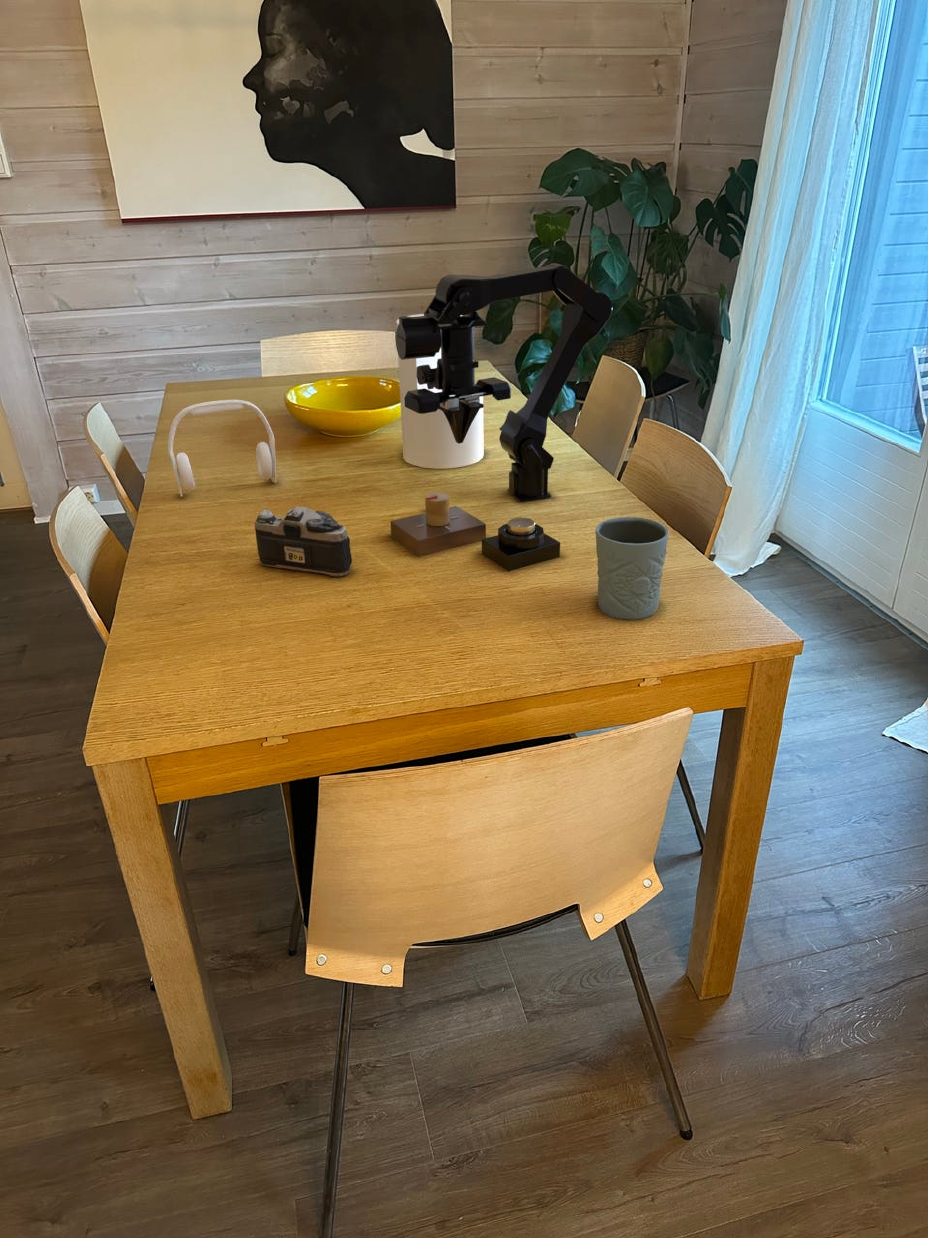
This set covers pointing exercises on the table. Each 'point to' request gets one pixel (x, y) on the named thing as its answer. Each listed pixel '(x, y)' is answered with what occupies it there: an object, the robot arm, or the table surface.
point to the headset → (263, 453)
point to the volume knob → (437, 509)
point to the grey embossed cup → (630, 566)
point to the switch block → (520, 548)
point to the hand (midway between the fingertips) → (459, 442)
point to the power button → (520, 527)
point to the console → (437, 532)
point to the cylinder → (434, 426)
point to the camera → (303, 542)
